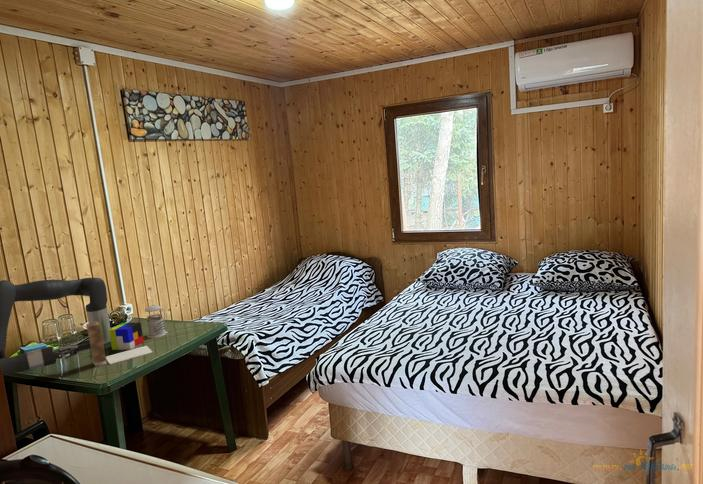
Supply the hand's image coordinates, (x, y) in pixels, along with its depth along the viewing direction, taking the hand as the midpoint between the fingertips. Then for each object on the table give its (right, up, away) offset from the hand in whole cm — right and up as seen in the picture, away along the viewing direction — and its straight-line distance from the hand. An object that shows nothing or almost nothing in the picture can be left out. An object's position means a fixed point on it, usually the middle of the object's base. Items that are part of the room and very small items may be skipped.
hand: (88, 345), depth 209 cm
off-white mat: (+13, -6, +10) cm, 18 cm away
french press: (+16, -2, +38) cm, 41 cm away
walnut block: (+4, -8, +3) cm, 10 cm away
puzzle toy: (+6, -5, +24) cm, 25 cm away
